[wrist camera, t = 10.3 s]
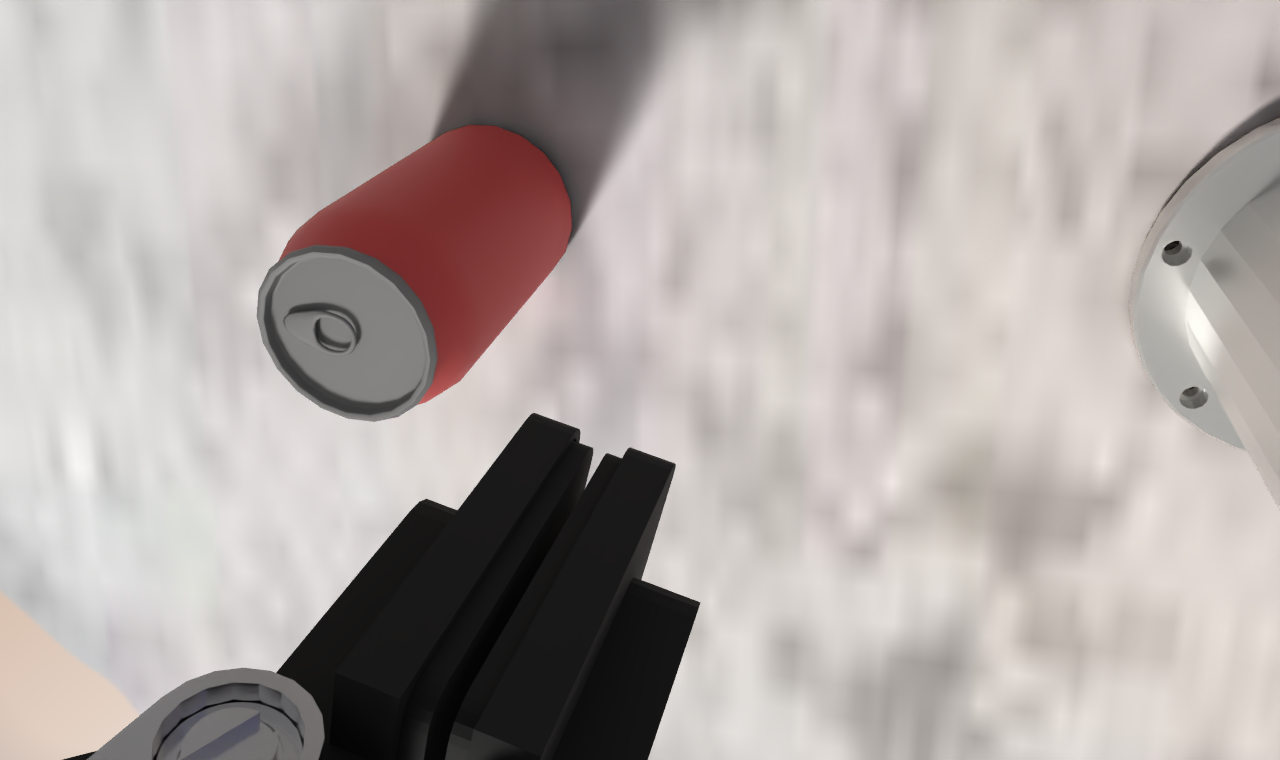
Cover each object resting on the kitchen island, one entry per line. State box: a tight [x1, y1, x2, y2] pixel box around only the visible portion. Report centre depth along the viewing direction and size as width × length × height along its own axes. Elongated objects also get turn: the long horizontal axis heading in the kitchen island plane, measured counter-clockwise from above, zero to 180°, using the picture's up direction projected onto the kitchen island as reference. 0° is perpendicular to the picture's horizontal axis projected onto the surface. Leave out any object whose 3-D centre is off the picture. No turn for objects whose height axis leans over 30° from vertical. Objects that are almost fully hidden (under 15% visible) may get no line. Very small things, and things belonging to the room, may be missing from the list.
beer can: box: [257, 125, 572, 422], centre depth 32 cm, size 7×7×12 cm
